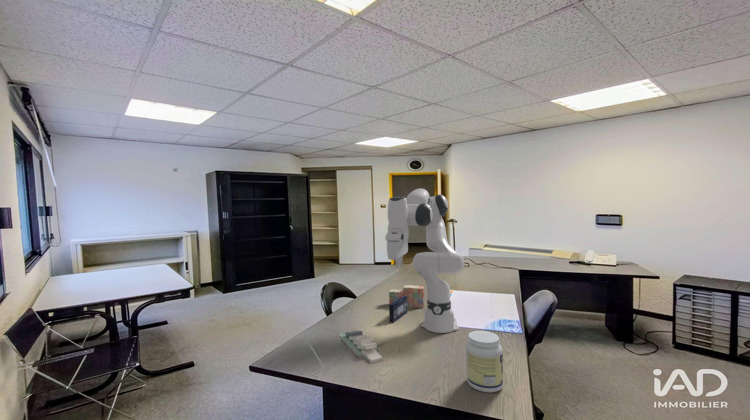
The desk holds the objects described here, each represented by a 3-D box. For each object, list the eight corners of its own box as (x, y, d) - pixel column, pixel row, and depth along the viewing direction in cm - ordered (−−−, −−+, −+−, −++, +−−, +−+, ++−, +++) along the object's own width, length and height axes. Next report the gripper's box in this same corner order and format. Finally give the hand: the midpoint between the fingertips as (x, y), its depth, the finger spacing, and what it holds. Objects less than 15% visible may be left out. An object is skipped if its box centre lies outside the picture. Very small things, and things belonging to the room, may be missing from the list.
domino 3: (352, 340, 145) (360, 341, 136) (362, 338, 147) (371, 338, 138) (353, 344, 144) (361, 345, 136) (363, 342, 146) (371, 342, 138)
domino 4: (357, 344, 140) (365, 345, 132) (367, 342, 142) (376, 343, 134) (357, 348, 140) (365, 349, 131) (367, 346, 142) (376, 347, 133)
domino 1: (345, 332, 154) (352, 333, 145) (354, 330, 156) (362, 330, 147) (345, 335, 153) (352, 336, 145) (355, 333, 156) (362, 334, 147)
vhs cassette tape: (393, 323, 170) (392, 305, 170) (388, 322, 171) (388, 304, 171) (408, 313, 185) (407, 296, 185) (403, 312, 187) (403, 295, 187)
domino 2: (348, 336, 149) (356, 337, 141) (358, 334, 152) (366, 334, 143) (349, 339, 149) (356, 340, 140) (359, 337, 151) (366, 338, 143)
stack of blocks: (389, 306, 198) (388, 287, 198) (390, 303, 204) (390, 284, 204) (423, 308, 193) (423, 288, 193) (424, 305, 199) (423, 285, 199)
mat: (338, 335, 156) (338, 334, 156) (356, 331, 160) (356, 330, 160) (357, 356, 133) (357, 355, 133) (378, 351, 138) (378, 350, 138)
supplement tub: (509, 393, 105) (508, 343, 105) (472, 394, 105) (471, 344, 105) (495, 374, 117) (494, 328, 117) (462, 374, 117) (461, 329, 117)
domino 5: (361, 349, 136) (371, 360, 127) (372, 346, 138) (382, 357, 129) (361, 352, 136) (371, 364, 127) (372, 350, 138) (382, 361, 129)
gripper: (397, 232, 146) (398, 262, 146) (384, 236, 126) (384, 271, 127) (411, 232, 144) (411, 262, 144) (399, 237, 124) (399, 272, 124)
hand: (398, 266), depth 135 cm, fingers closed
